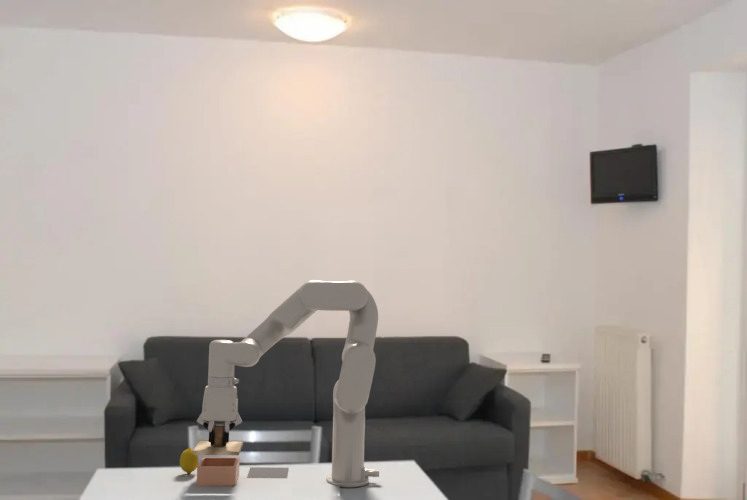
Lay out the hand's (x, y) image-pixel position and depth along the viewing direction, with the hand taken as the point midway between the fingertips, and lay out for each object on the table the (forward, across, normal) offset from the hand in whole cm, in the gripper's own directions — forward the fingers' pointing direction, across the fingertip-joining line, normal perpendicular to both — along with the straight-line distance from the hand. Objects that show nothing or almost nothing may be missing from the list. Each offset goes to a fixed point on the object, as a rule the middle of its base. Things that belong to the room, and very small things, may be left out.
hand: (218, 444), depth 234 cm
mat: (+11, -14, -9) cm, 20 cm away
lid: (+2, 0, 0) cm, 2 cm away
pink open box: (+11, 0, 0) cm, 11 cm away
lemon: (+12, +10, -9) cm, 18 cm away
